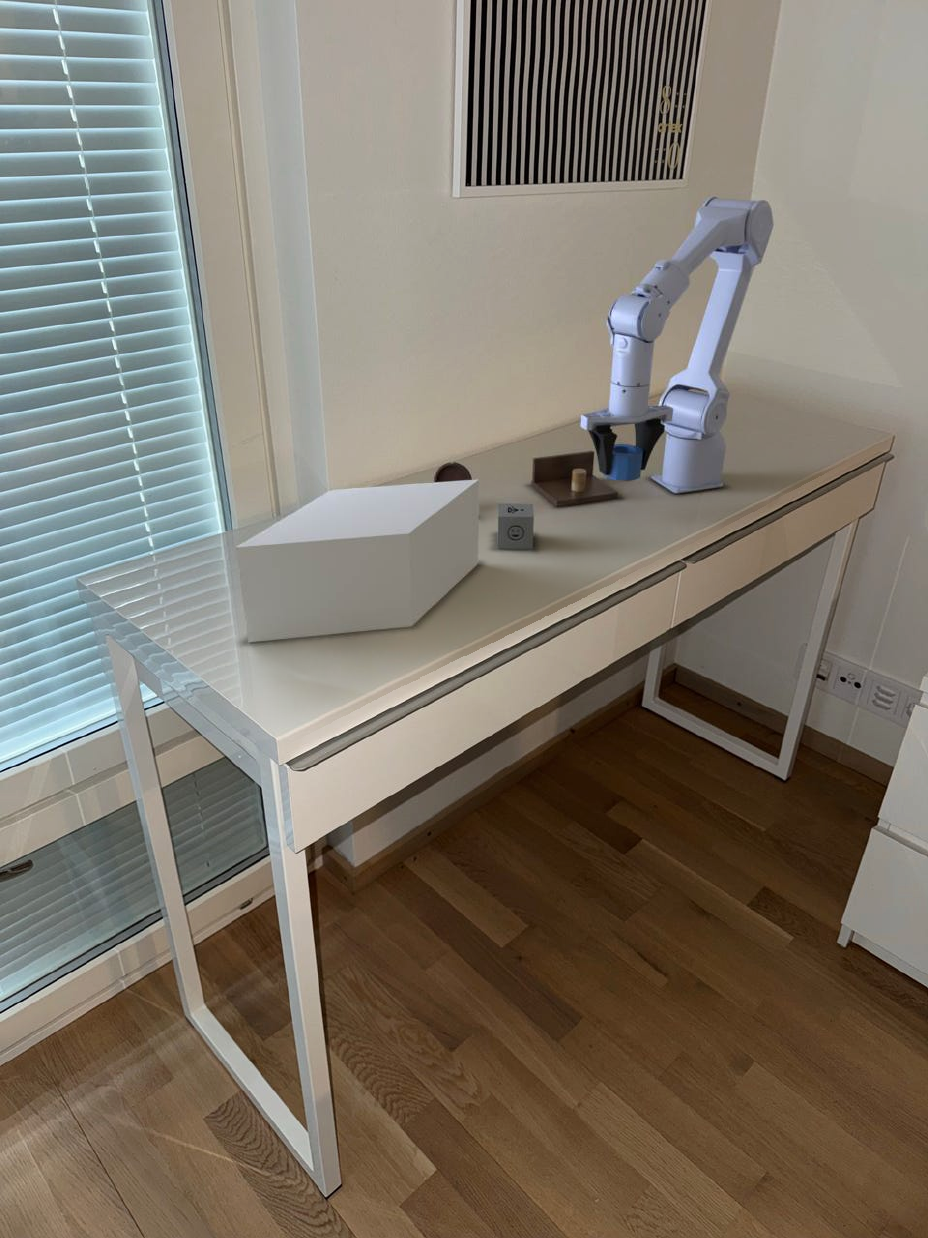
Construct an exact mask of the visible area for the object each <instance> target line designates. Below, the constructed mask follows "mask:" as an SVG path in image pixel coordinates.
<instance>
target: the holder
mask: <svg viewBox="0 0 928 1238" xmlns="http://www.w3.org/2000/svg"><path fill="white" fill-rule="evenodd" d="M594 460H595V451H594V450H588V451H580V452H570V453H563V454H562V453H561V454H555V455H554V454H553V455H548V456H540V457H533V458H532V474H531V481H530V483H531V484H530V486H531V487H532V488H533V489H534V490H535V491H537V492H538V493H539V494H540V495H542V496H543V497H544V498H545V499H546V500H548V501H549V502H550V503H551V504H552V505H554V507H556V508H559V507H565V506H573V505H580V504H587V503H593V502H600V501H607V500H613V499H614V500H615V499H618V497H619V492H618V491H617V490H615V489H614V488H613V487H611V486H609V485H608V484H607V483H605V482H604V481H603V480H601V479H599V478H598V477H597V476H595V475H594V464H595V463H594V462H595V461H594Z"/></svg>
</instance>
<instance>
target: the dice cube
mask: <svg viewBox="0 0 928 1238" xmlns="http://www.w3.org/2000/svg"><path fill="white" fill-rule="evenodd" d="M497 504H498V508H497V512H498V513H497V550H533V546H534V521H535V516H534V504H533V503H513V502H511V503H509V502H508V503H505V502H498V503H497Z"/></svg>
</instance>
